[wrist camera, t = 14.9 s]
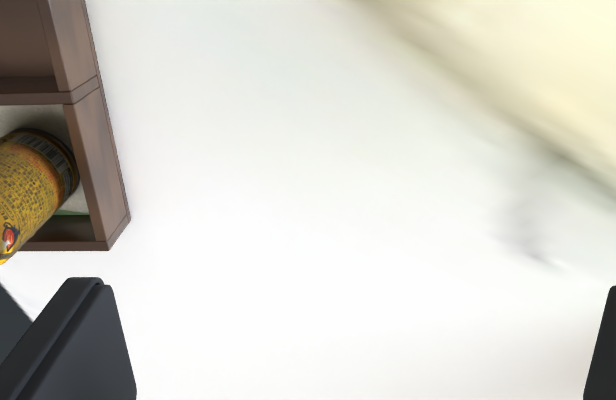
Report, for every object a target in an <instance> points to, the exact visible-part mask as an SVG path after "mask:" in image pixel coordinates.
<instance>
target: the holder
mask: <svg viewBox="0 0 616 400" xmlns="http://www.w3.org/2000/svg"><path fill="white" fill-rule="evenodd" d="M54 104H63V105H62V106H63V110H64V114H65V119H66V123H67V127H68V131H69V135H70V139H71V143H72V147H73V151H74V155H75V159H76V163H77V167H78V171H79V175H80V179H81V183H82V187H83V191H84V195H85V199H86V203H87V207H88V211H89V213H82V212H74V211H68V210H61V209H58V210H57V211H56V212H55V213H54V214H53V215H52V216H51V217H50V218H49V219H48V220H47V221H46V222H45V223H44V224H43V225H42V226H41V227H40V228H39V229H38V230H37V231H36V232H35V234H34V235H33V236H32V237H31V238H29V239H28V240H27V241H26V242H25V243H24V244H23V245H22V246H21V248H20V249H19V250H18V251H109V250H110V249H111V247H112V246H113V245H114V243H115V242H116V240H117V239H118V237H119V236H120V235H121V233H122V232H123V230H124V229H125V228H126V226H127V225H128V223H129V222H130V221H131V218H130V213H129V208H128V204H127V199H126V194H125V190H124V185H123V180H122V175H121V171H120V166H119V161H118V157H117V152H116V147H115V142H114V138H113V133H112V128H111V124H110V119H109V114H108V109H107V105H106V100H105V95H104V91H103V86H102V81H101V76H100V72H99V67H98V62H97V58H96V53H95V48H94V43H93V39H92V34H91V29H90V25H89V20H88V15H87V11H86V6H85V1H84V0H0V106H11V105H54Z"/></svg>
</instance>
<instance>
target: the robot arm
mask: <svg viewBox="0 0 616 400" xmlns="http://www.w3.org/2000/svg"><path fill="white" fill-rule="evenodd" d="M136 395H137V389H136V383H135V379H134V375H133V371H132V367H131V363H130V359H129V354H128V350H127V346H126V342H125V338H124V334H123V330H122V326H121V322H120V318H119V314H118V309H117V305H116V301H115V297H114V293H113V290H112V288H111V286H110V285H104V282H103V281H102V279H101V278H98V277H71V278H68V279H67V280H66V281H65V282H64V283H63V284H62V286H61V287H60V288H59V289H58V291H57V292H56V293H55V295H54V296H53V297H52V299H51V300H50V301H49V303H48V304H47V305H46V306H45V308H44V309H43V310H42V312H41V313H40V314H39V316H38V317H37V318H36V319H35V321H34V322H33V324H32V325H31V326H30V327H29V329H28V330H27V331H26V333H25V334H24V335H23V336H22V338H21V339H20V340H19V342H18V343H17V344H16V346H15V347H14V348H13V350H12V351H11V352H10V353H9V355H8V356H7V357H6V359H5V360H4V361H3V362H2V364H1V365H0V400H136ZM583 400H616V286H612V287H611V288H610V290H609V293H608V297H607V301H606V305H605V309H604V313H603V317H602V321H601V325H600V329H599V333H598V337H597V341H596V345H595V349H594V353H593V357H592V361H591V365H590V369H589V373H588V377H587V381H586V385H585V389H584V394H583Z"/></svg>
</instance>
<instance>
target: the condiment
mask: <svg viewBox="0 0 616 400" xmlns="http://www.w3.org/2000/svg"><path fill="white" fill-rule="evenodd" d="M62 105H63V104H54V105H11V106H0V265H1V264H3V263H5V262H6V261H7V260H8V259H9V258H10V257H12V256H13V255H14V254H15V253H16V252H17V251H18V250H19V249H20V248H21V246H22V245H23V244H24V243H25V242H26V241H27V240H28V239H29V238H31V237H32V236H33V235H34V234H35V232H36V231H37V230H38V229H39V228H40V227H41V226H42V225H43V224H44V223H45V222H46V221H47V220H48V219H49V218H50V217H51V216H52V215H53V214H54V213H55V212H56V211H57V210H58V209H61V210H68V211H74V212H82V213H89V211H88V207H87V203H86V199H85V195H84V191H83V187H82V183H81V179H80V175H79V171H78V167H77V163H76V159H75V155H74V151H73V147H72V143H71V139H70V135H69V131H68V127H67V123H66V119H65V114H64V110H63V106H62Z"/></svg>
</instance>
